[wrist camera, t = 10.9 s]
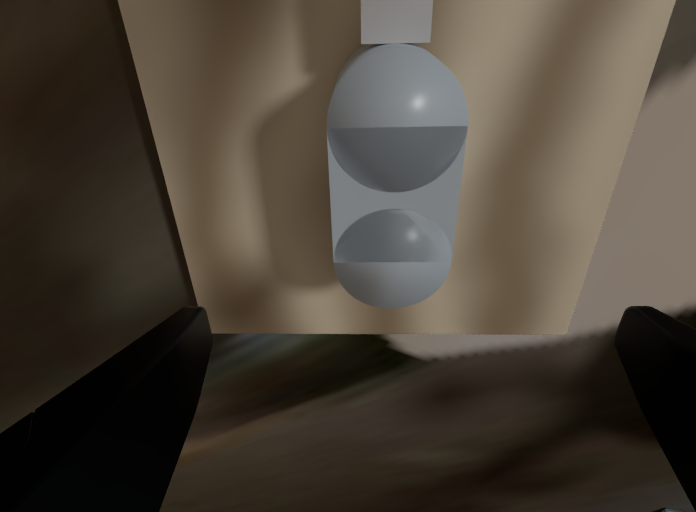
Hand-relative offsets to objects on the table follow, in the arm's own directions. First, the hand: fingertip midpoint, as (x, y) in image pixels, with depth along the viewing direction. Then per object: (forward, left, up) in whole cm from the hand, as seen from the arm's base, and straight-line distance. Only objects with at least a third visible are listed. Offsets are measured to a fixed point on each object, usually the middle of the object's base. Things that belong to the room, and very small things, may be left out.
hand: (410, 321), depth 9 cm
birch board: (0, 0, -12) cm, 12 cm away
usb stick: (0, -1, -11) cm, 11 cm away
